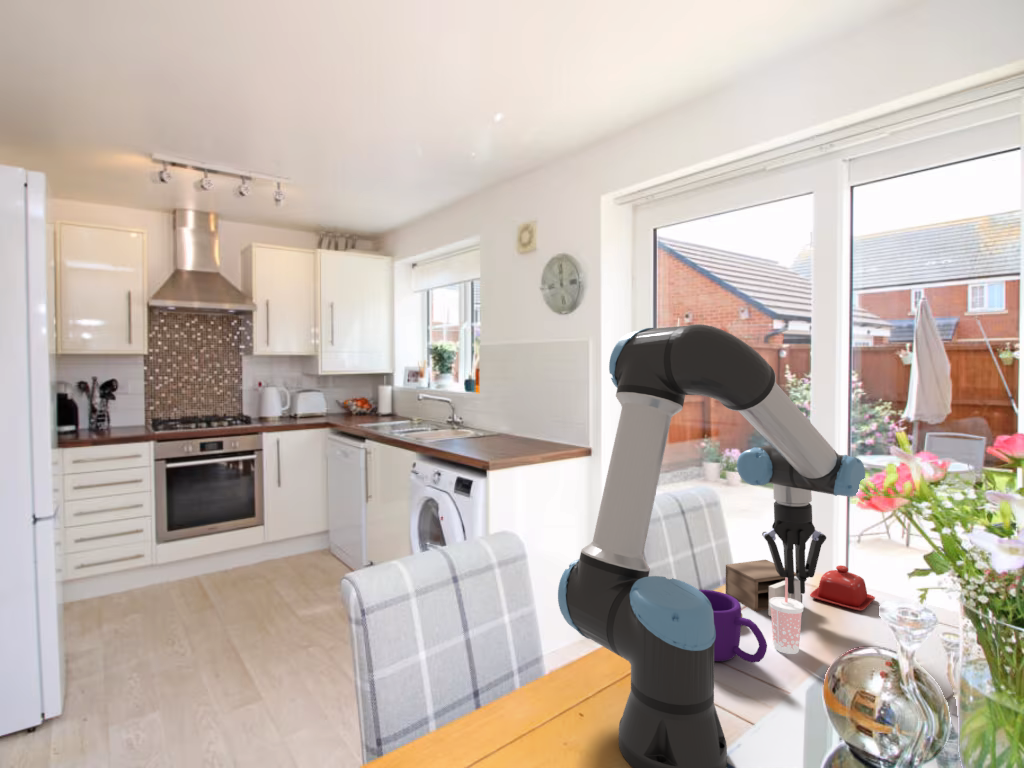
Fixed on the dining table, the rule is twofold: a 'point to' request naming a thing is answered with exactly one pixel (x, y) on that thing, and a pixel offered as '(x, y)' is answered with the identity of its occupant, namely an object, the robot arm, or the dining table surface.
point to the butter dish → (843, 589)
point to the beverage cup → (786, 622)
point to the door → (778, 592)
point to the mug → (732, 628)
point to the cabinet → (752, 582)
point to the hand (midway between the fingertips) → (796, 607)
